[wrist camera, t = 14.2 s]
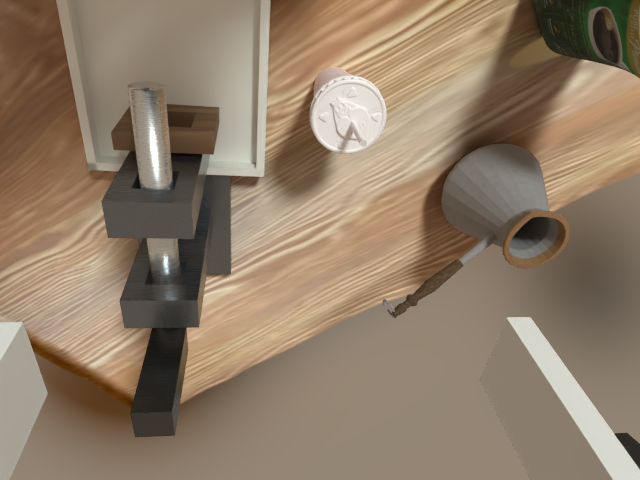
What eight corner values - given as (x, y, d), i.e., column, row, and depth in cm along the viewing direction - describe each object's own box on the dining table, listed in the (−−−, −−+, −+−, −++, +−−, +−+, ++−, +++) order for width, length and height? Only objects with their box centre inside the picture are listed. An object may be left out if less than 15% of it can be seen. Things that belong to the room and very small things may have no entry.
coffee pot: (521, 117, 50) (610, 177, 37) (535, 200, 56) (614, 275, 44) (341, 195, 52) (368, 276, 40) (373, 265, 59) (405, 354, 46)
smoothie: (327, 129, 48) (351, 192, 36) (286, 83, 45) (298, 135, 33) (376, 88, 46) (417, 140, 35) (337, 36, 43) (368, 75, 31)
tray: (49, -102, 35) (36, -104, 33) (272, -74, 38) (273, -75, 36) (95, 159, 47) (88, 170, 45) (263, 166, 49) (264, 176, 47)
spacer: (132, 102, 43) (110, 132, 37) (219, 107, 44) (213, 137, 38) (134, 117, 44) (113, 149, 37) (219, 122, 45) (213, 154, 39)
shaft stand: (126, 118, 45) (70, 200, 31) (230, 124, 46) (220, 204, 33) (145, 265, 55) (109, 377, 41) (231, 266, 56) (224, 374, 42)
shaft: (127, 80, 32) (75, 140, 23) (172, 83, 32) (139, 143, 23) (159, 337, 45) (135, 440, 36) (190, 337, 46) (175, 439, 37)
